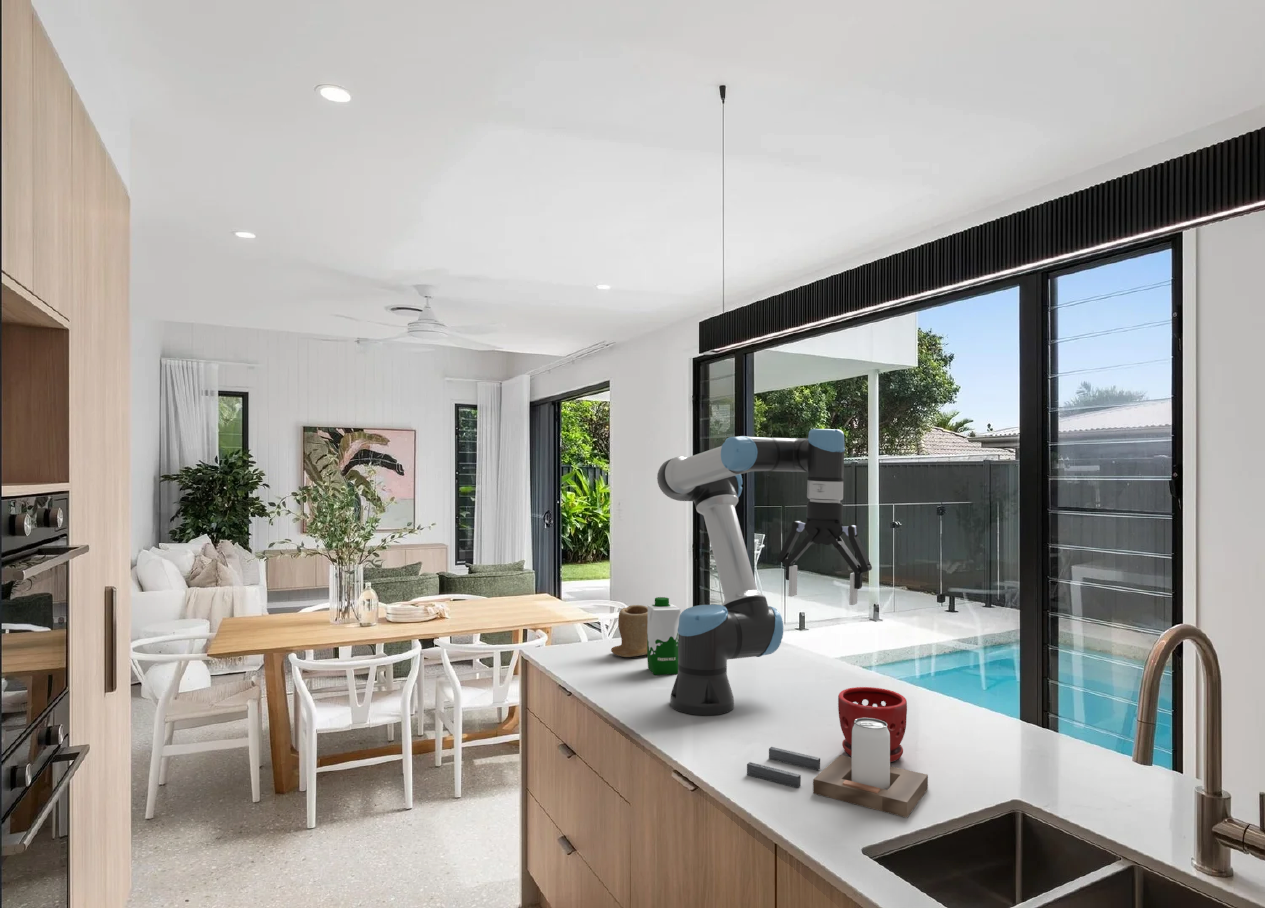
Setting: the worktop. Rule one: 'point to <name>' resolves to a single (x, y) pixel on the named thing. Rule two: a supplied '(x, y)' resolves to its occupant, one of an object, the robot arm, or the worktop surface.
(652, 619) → the milk carton
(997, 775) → the worktop surface
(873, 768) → the can
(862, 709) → the plant pot
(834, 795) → the plate
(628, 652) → the brown boot
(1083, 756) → the worktop surface
